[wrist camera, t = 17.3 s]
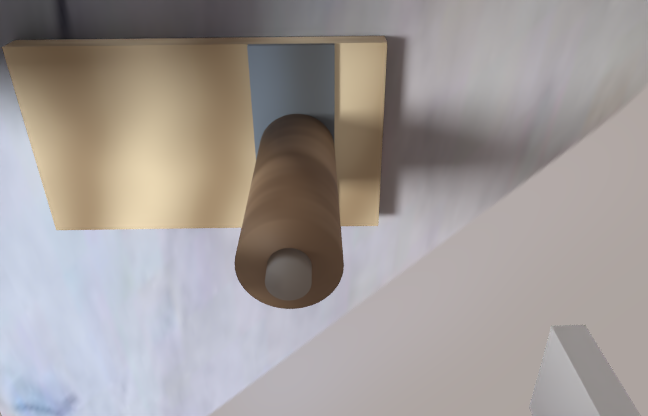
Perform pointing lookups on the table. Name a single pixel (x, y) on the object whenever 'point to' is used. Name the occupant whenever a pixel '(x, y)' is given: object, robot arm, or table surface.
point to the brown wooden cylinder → (292, 217)
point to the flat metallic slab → (191, 123)
